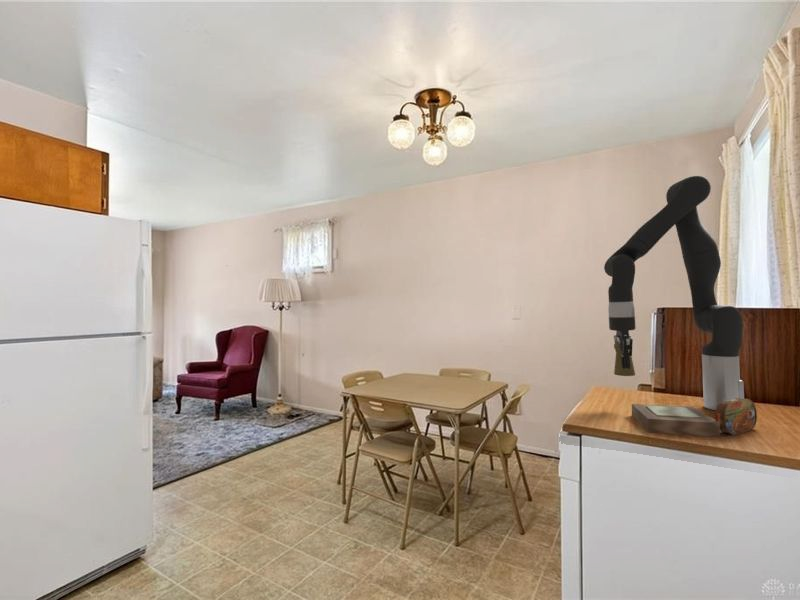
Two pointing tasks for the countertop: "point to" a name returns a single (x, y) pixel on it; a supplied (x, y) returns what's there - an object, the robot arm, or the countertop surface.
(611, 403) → the countertop surface
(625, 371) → the olive pepper mill
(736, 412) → the tin
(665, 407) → the stand
